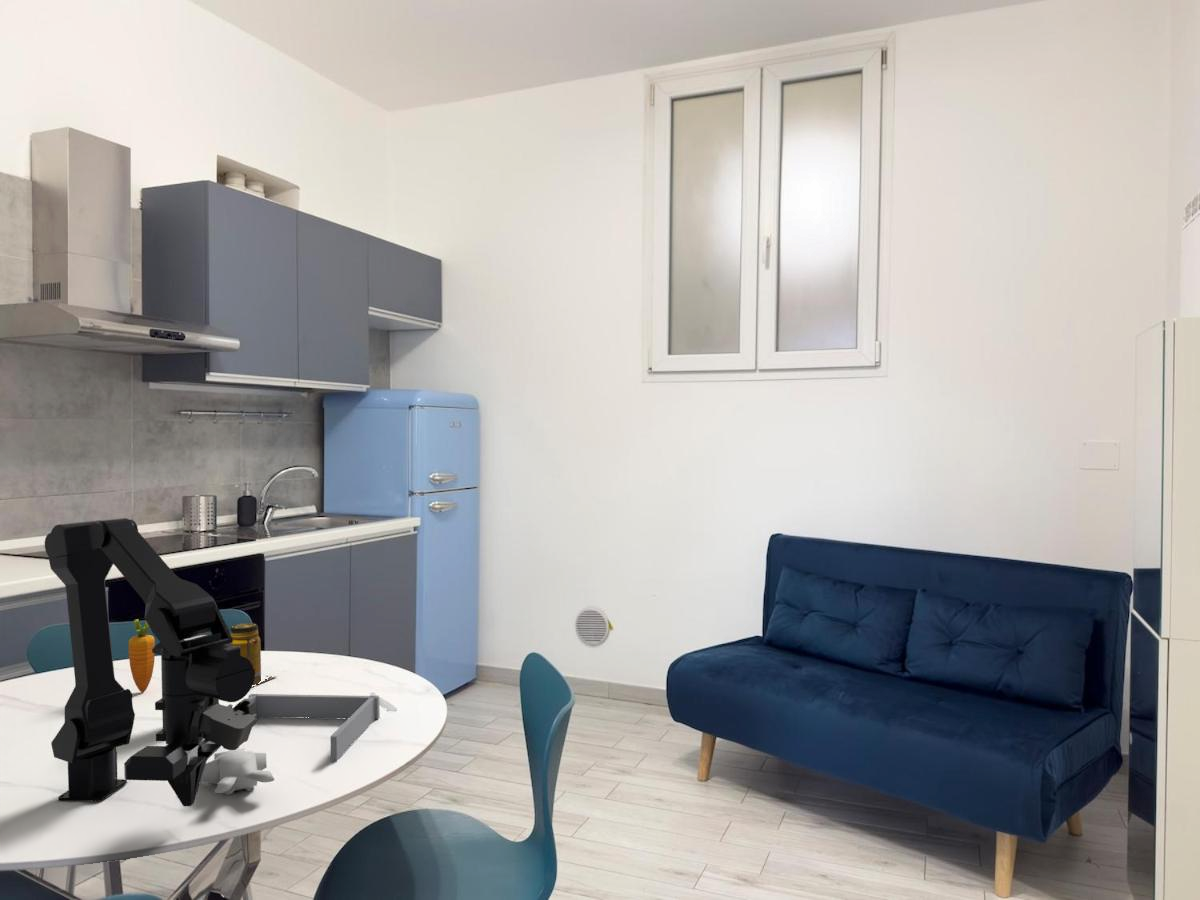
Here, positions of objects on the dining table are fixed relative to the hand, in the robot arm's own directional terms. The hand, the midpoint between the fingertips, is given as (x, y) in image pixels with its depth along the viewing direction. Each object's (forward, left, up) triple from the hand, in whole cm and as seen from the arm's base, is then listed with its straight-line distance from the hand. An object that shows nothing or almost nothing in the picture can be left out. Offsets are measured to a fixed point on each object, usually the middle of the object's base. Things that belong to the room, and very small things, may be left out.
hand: (188, 805), depth 114 cm
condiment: (+63, +22, -3) cm, 67 cm away
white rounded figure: (+13, 0, -4) cm, 13 cm away
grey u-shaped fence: (+33, 0, -3) cm, 33 cm away
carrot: (+55, +40, -3) cm, 68 cm away
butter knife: (+57, -5, -4) cm, 57 cm away
